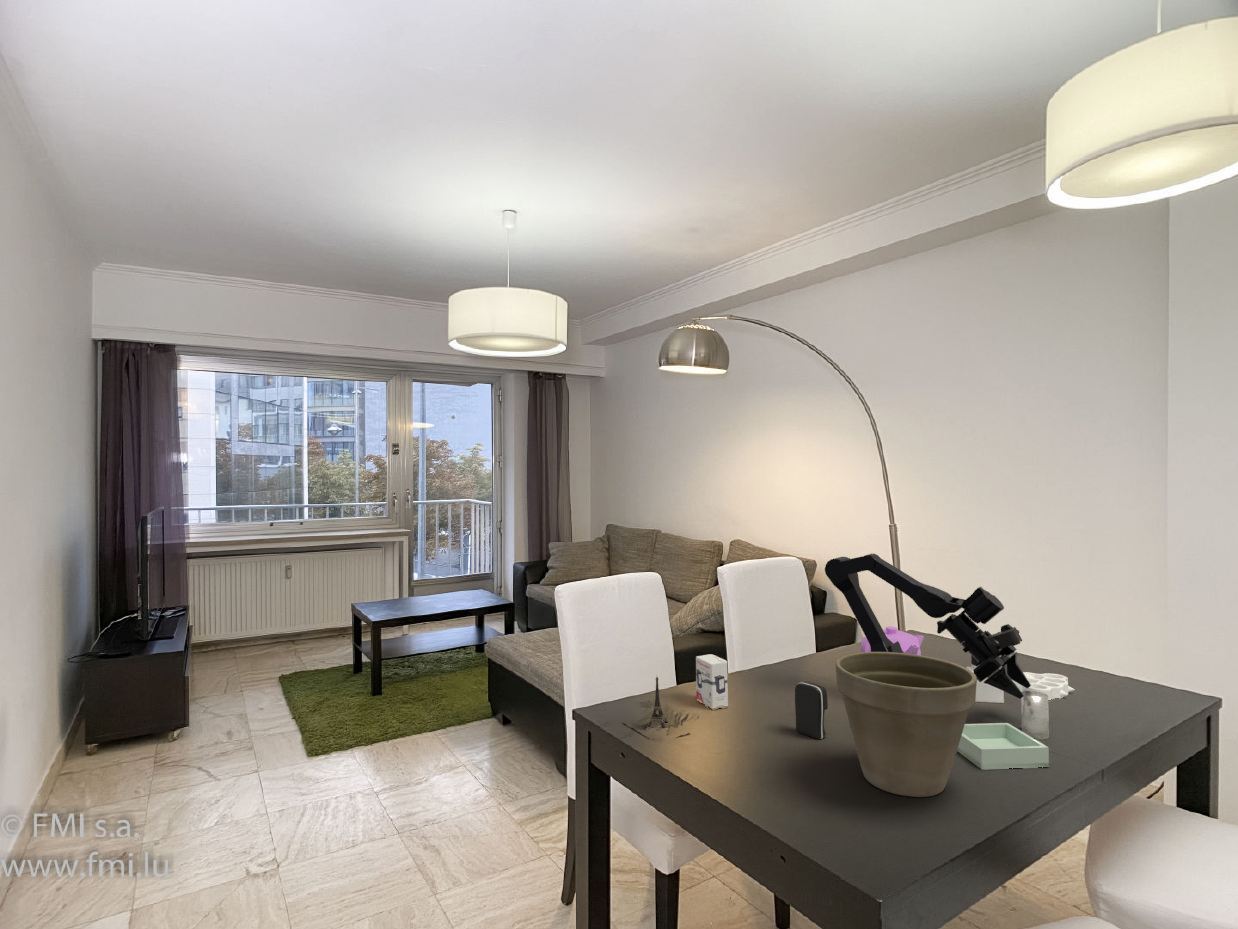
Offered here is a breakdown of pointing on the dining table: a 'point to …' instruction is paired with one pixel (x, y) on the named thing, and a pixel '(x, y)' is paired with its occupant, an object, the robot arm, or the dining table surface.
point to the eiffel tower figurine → (660, 716)
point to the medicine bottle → (986, 689)
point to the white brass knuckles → (1047, 684)
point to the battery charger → (810, 709)
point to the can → (1035, 714)
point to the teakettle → (906, 641)
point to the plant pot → (905, 717)
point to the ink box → (711, 680)
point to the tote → (1001, 747)
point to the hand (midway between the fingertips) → (1025, 692)
